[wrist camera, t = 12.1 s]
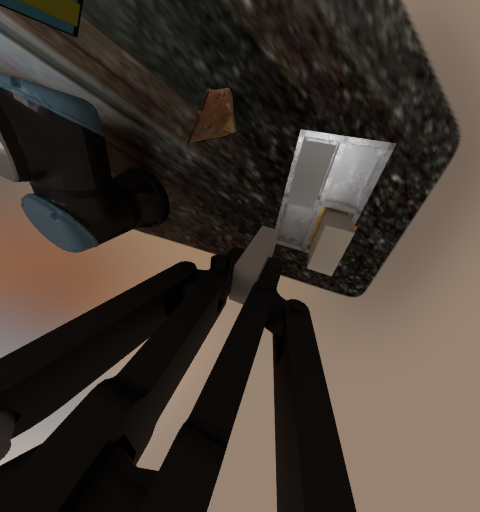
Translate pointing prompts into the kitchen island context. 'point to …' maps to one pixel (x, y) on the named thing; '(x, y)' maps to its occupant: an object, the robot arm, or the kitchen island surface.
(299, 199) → the grey rectangular block
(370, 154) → the grey divided tray
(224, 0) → the kitchen island surface
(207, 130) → the shard
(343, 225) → the grey beige block
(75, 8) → the carton
